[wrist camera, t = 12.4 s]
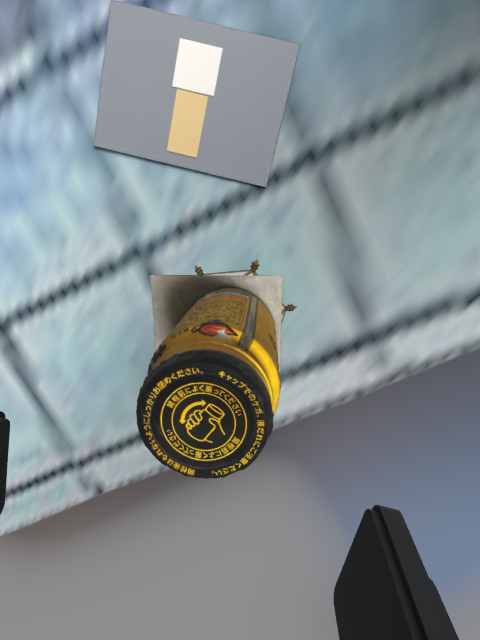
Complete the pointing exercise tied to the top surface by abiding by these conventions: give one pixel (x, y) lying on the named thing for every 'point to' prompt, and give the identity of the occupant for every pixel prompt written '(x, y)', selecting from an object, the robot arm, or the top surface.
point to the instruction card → (192, 93)
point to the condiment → (212, 371)
